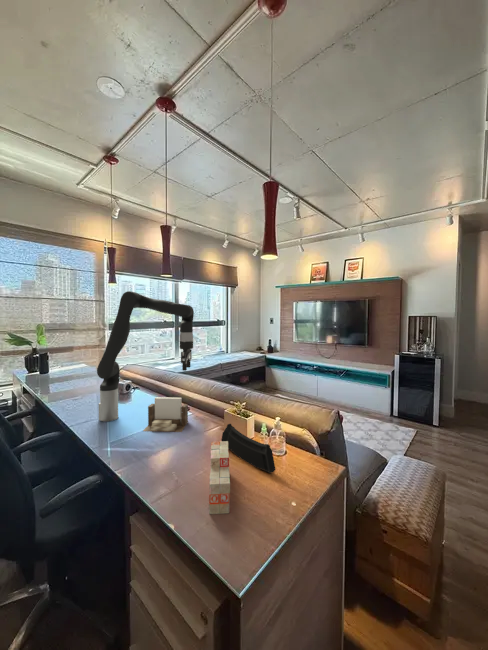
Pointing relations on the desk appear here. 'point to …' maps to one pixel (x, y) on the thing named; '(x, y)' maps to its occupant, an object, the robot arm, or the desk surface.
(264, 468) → the magazine
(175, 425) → the offcut lower
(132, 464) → the desk surface
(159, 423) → the offcut upper
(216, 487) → the stack of blocks
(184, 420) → the rack
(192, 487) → the desk surface
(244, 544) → the desk surface
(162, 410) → the white square panel
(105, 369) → the robot arm
